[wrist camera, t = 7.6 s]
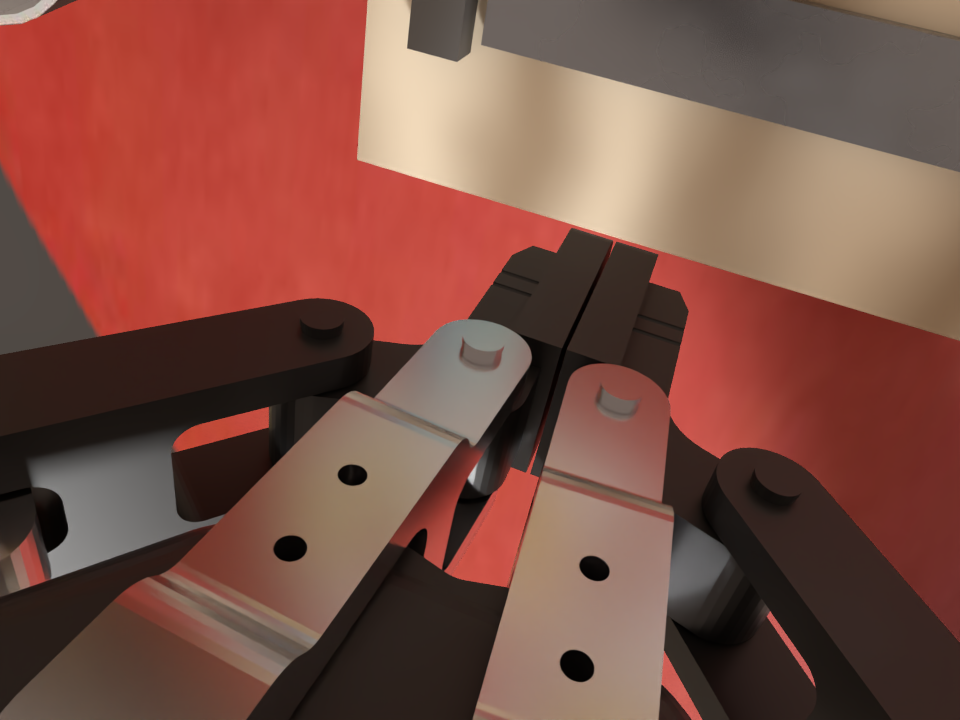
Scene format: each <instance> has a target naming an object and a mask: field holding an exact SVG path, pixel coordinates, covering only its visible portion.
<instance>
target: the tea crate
mask: <svg viewBox="0 0 960 720" xmlns="http://www.w3.org/2000/svg"><path fill="white" fill-rule="evenodd" d="M807 1H811V2H815V3H820V4H824V5H828V6H832V7H836V8H841V9H845V10H849V11H853V12H857V13H862V14H866V15H870V16H874V17H878V18H883V19H887V20H891V21H895V22H899V23H904V24H908V25H912V26H916V27H920V28H924V29H929V30H933V31H937V32H941V33H945V34H950V35H954V36H958V37H960V0H807ZM487 2H488V0H368V5H367V20H366V35H365V49H364V64H363V79H362V94H361V109H360V124H359V138H358V153H357V160H360V161H363V162H366V163H370V164H373V165H376V166H380V167H383V168H386V169H390V170H393V171H396V172H400V173H403V174H406V175H410V176H413V177H416V178H420V179H423V180H426V181H430V182H433V183H436V184H440V185H443V186H446V187H450V188H453V189H456V190H460V191H463V192H466V193H470V194H473V195H476V196H480V197H483V198H486V199H490V200H493V201H496V202H499V203H503V204H506V205H509V206H513V207H516V208H519V209H523V210H526V211H529V212H533V213H536V214H539V215H543V216H546V217H549V218H553V219H556V220H559V221H563V222H566V223H569V224H573V225H576V226H579V227H583V228H586V229H589V230H593V231H596V232H599V233H603V234H606V235H609V236H613V237H616V238H619V239H623V240H626V241H629V242H633V243H636V244H639V245H643V246H646V247H649V248H652V249H656V250H659V251H662V252H666V253H669V254H672V255H676V256H679V257H682V258H686V259H689V260H692V261H696V262H699V263H702V264H706V265H709V266H712V267H716V268H719V269H722V270H726V271H729V272H732V273H736V274H739V275H742V276H746V277H749V278H752V279H756V280H759V281H762V282H766V283H769V284H772V285H776V286H779V287H782V288H786V289H789V290H792V291H796V292H799V293H802V294H806V295H809V296H812V297H815V298H819V299H822V300H825V301H829V302H832V303H835V304H839V305H842V306H845V307H849V308H852V309H855V310H859V311H862V312H865V313H869V314H872V315H875V316H879V317H882V318H885V319H889V320H892V321H895V322H899V323H902V324H905V325H909V326H912V327H915V328H919V329H922V330H925V331H929V332H932V333H935V334H939V335H942V336H945V337H949V338H952V339H955V340H959V341H960V172H957V171H953V170H949V169H946V168H942V167H938V166H934V165H931V164H927V163H923V162H919V161H916V160H912V159H908V158H904V157H901V156H897V155H893V154H889V153H885V152H882V151H878V150H874V149H870V148H867V147H863V146H859V145H855V144H852V143H848V142H844V141H840V140H837V139H833V138H829V137H825V136H822V135H818V134H814V133H810V132H806V131H803V130H799V129H795V128H791V127H788V126H784V125H780V124H776V123H773V122H769V121H765V120H761V119H758V118H754V117H750V116H746V115H742V114H739V113H735V112H731V111H727V110H724V109H720V108H716V107H712V106H709V105H705V104H701V103H697V102H694V101H690V100H686V99H682V98H678V97H675V96H671V95H667V94H663V93H660V92H656V91H652V90H648V89H645V88H641V87H637V86H633V85H630V84H626V83H622V82H618V81H615V80H611V79H607V78H603V77H599V76H596V75H592V74H588V73H584V72H581V71H577V70H573V69H569V68H566V67H562V66H558V65H554V64H551V63H547V62H543V61H539V60H535V59H532V58H528V57H524V56H520V55H517V54H513V53H509V52H505V51H502V50H498V49H494V48H490V47H487V46H483V45H481V41H482V34H483V28H484V22H485V15H486V9H487Z"/></svg>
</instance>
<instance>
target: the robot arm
mask: <svg viewBox="0 0 960 720" xmlns="http://www.w3.org/2000/svg"><path fill="white" fill-rule="evenodd" d="M612 245H613V240H609V239H606V238H603V237H600V236H596V235H593V234H590V233H587V232H583V231H580V230H577V229H574V228H571V230H570V231H569V233H568V235H567V236H566V238H565V240H564V241H563V243H562V245H561V246H560V248H559V250H558V251H557V253H554V252H551V251H548V250H545V249H542V248H538V247H535V246H532V247H529V248H527V249H525V250H523V251H520V252H518V253H516V254H514V255H512V256H511V258H510V259H509V261H508V262H507V263H506V265H505V266H504V268H503V269H502V272H501V273H500V274H499V275H498V276H497V278H496V279H495V281H494V283H493V285H491V286H490V288H489V289H488V291H487V292H486V294H485V295H484V296H483V298H482V299H481V301H480V302H479V304H478V305H477V306H476V308H475V309H474V311H473V312H472V314H471V315H470V316H469V318H468V319H467V320H458V321H454V322H451V323H448V324H446V325H444V326H442V327H440V328H439V329H438V330H437V331H436V332H435V333H434V334H433V335H432V336H431V337H430V338H429V340H428V341H427V342H426V343H425V344H424V345H408V344H398V343H390V342H383V341H375V340H373V337H374V327H373V324H372V322H371V320H370V319H369V317H368V316H367V315H366V314H365V313H363V312H362V311H361V310H359V309H358V308H356V307H354V306H352V305H349V304H347V303H344V302H340V301H336V300H331V299H320V298H316V299H304V300H297V301H292V302H287V303H281V304H276V305H270V306H265V307H259V308H254V309H248V310H243V311H237V312H232V313H226V314H221V315H215V316H210V317H205V318H199V319H194V320H188V321H183V322H177V323H172V324H166V325H161V326H155V327H150V328H144V329H139V330H134V331H128V332H123V333H117V334H112V335H106V336H101V337H95V338H90V339H84V340H79V341H73V342H68V343H63V344H58V345H52V346H46V347H41V348H35V349H30V350H24V351H19V352H13V353H8V354H2V355H0V720H691V718H690V717H689V715H688V714H687V713H686V712H685V710H684V709H683V708H682V707H681V705H680V704H679V703H678V702H677V700H676V699H675V698H674V697H673V696H672V695H671V694H670V693H669V692H668V690H667V689H666V688H665V687H664V686H663V685H662V684H661V681H662V668H663V654H664V651H665V653H666V655H667V656H668V658H669V660H670V662H671V664H672V665H673V667H674V669H675V671H676V673H677V674H678V676H679V678H680V680H681V682H682V683H683V685H684V687H685V689H686V691H687V692H688V694H689V696H690V698H691V700H692V701H693V703H694V705H695V707H696V709H697V710H698V712H699V714H700V716H701V718H702V719H703V720H960V643H959V642H958V640H957V639H956V638H955V637H954V636H953V635H952V634H951V632H950V631H949V630H948V629H947V628H946V627H945V626H944V624H943V623H942V622H941V621H940V620H939V619H938V617H937V616H936V615H935V614H934V613H933V612H932V611H931V609H930V608H929V607H928V606H927V605H926V604H925V603H924V601H923V600H922V599H921V598H920V597H919V596H918V595H917V593H916V592H915V591H914V590H913V589H912V588H911V587H910V585H909V584H908V583H907V582H906V581H905V580H904V579H903V577H902V576H901V575H900V574H899V573H898V572H897V571H896V569H895V568H894V567H893V566H892V565H891V564H890V563H889V561H888V560H887V559H886V558H885V557H884V556H883V555H882V553H881V552H880V551H879V550H878V549H877V548H876V547H875V545H874V544H873V543H872V542H871V541H870V540H869V539H868V537H867V536H866V535H865V534H864V533H863V532H862V531H861V529H860V528H859V527H858V526H857V525H856V524H855V523H854V521H853V520H852V519H851V518H850V517H849V516H848V515H847V513H846V512H845V511H844V510H843V509H842V508H841V507H840V505H839V504H838V503H837V502H836V501H835V500H834V498H833V497H832V496H831V495H830V494H829V493H828V492H827V490H826V489H825V488H824V487H823V486H822V485H821V484H820V482H819V481H818V480H817V479H816V478H815V477H814V476H813V475H812V474H811V473H809V472H808V471H807V470H806V469H805V468H803V467H802V466H800V465H799V464H797V463H796V462H794V461H792V460H790V459H788V458H787V457H784V456H782V455H780V454H777V453H774V452H771V451H768V450H763V449H758V448H739V449H735V450H732V451H730V452H727V453H726V454H725V455H723V456H722V457H721V459H719V458H717V457H715V456H714V455H712V454H710V453H709V452H707V451H705V450H704V449H702V448H701V447H699V446H698V445H696V444H695V443H693V442H692V441H691V440H690V439H688V438H687V437H686V436H685V435H684V434H683V433H682V432H681V431H680V430H679V429H678V427H677V426H676V425H675V423H674V422H673V420H672V418H671V416H670V403H669V400H668V396H669V392H670V388H671V384H672V379H673V375H674V371H675V367H676V362H677V358H678V354H679V350H680V345H681V341H682V337H683V333H684V329H685V325H686V320H687V316H688V312H689V311H688V309H687V307H686V305H685V302H684V300H683V298H682V296H681V294H680V292H678V291H675V290H671V289H668V288H665V287H662V286H659V285H656V284H653V283H649V280H650V277H651V274H652V271H653V269H654V266H655V263H656V260H657V257H658V254H655V253H652V252H648V251H645V250H642V249H639V248H636V247H632V246H629V245H626V244H623V243H619V242H616V244H615V246H614V248H613V250H612V252H611V249H612ZM610 252H611V254H610ZM609 256H610V257H609ZM265 407H269V428H265V429H262V430H258V431H254V432H250V433H247V434H243V435H239V436H235V437H232V438H228V439H224V440H220V441H217V442H213V443H209V444H205V445H202V446H198V447H194V448H190V449H187V450H183V451H179V452H175V453H171V449H172V446H173V444H174V442H175V440H176V439H177V438H178V437H179V436H180V435H181V434H182V433H183V432H184V431H186V430H187V429H189V428H191V427H193V426H195V425H199V424H202V423H206V422H210V421H214V420H218V419H222V418H226V417H230V416H234V415H238V414H242V413H246V412H250V411H254V410H258V409H261V408H265ZM539 442H540V443H539ZM538 444H539V446H538ZM537 446H538V450H537V453H536V456H535V460H534V463H533V467H532V470H531V473H530V474H532V475H535V476H537V477H539V480H538V483H537V487H536V490H535V493H534V496H533V499H532V503H531V506H530V509H529V513H528V516H527V519H526V523H525V526H524V530H523V533H522V537H521V540H520V543H519V547H518V550H517V554H516V557H515V561H514V564H513V568H512V571H511V574H510V578H509V581H508V585H507V587H501V586H495V585H489V584H483V583H477V582H471V581H465V580H461V579H457V578H455V577H452V574H453V572H454V571H455V569H456V567H457V566H458V564H459V562H460V561H461V559H462V557H463V556H464V554H465V552H466V550H467V549H468V547H469V545H470V544H471V542H472V540H473V539H474V537H475V535H476V534H477V532H478V530H479V528H480V527H481V525H482V523H483V522H484V520H485V518H486V517H487V515H488V513H489V512H490V510H491V508H492V506H493V504H494V502H495V498H496V495H497V491H498V488H499V487H500V486H501V485H502V484H503V482H504V480H505V478H506V476H507V474H508V472H509V470H510V467H512V468H515V469H518V470H520V471H523V472H526V471H527V469H528V467H529V465H530V462H531V460H532V458H533V455H534V453H535V451H536V449H537ZM770 611H771V613H772V614H773V616H774V617H775V619H776V620H777V621H778V623H779V624H780V626H781V627H782V629H783V630H784V631H785V633H786V634H787V636H788V637H789V639H790V640H791V642H792V643H793V644H794V646H795V647H796V649H797V650H798V652H799V653H800V654H801V656H802V657H803V659H804V660H805V662H806V663H807V665H808V667H809V669H810V671H811V673H812V676H813V678H814V682H815V686H816V688H815V686H814V685H813V683H812V682H811V681H810V679H809V678H808V676H807V675H806V673H805V672H804V670H803V669H802V667H801V666H800V665H799V663H798V662H797V660H796V659H795V657H794V656H793V654H792V653H791V651H790V650H789V649H788V647H787V646H786V644H785V643H784V641H783V640H782V638H781V637H780V635H779V634H778V633H777V631H776V630H775V628H774V627H773V625H772V624H771V622H770V621H769V619H768V618H767V615H768V613H769V612H770Z"/></svg>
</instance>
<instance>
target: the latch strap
mask: <svg viewBox="0 0 960 720" xmlns="http://www.w3.org/2000/svg"><path fill="white" fill-rule="evenodd" d="M481 45H483V46H487V47H490V48H494V49H498V50H502V51H505V52H509V53H513V54H517V55H520V56H524V57H528V58H532V59H535V60H539V61H543V62H547V63H551V64H554V65H558V66H562V67H566V68H569V69H573V70H577V71H581V72H584V73H588V74H592V75H596V76H599V77H603V78H607V79H611V80H615V81H618V82H622V83H626V84H630V85H633V86H637V87H641V88H645V89H648V90H652V91H656V92H660V93H663V94H667V95H671V96H675V97H678V98H682V99H686V100H690V101H694V102H697V103H701V104H705V105H709V106H712V107H716V108H720V109H724V110H727V111H731V112H735V113H739V114H742V115H746V116H750V117H754V118H758V119H761V120H765V121H769V122H773V123H776V124H780V125H784V126H788V127H791V128H795V129H799V130H803V131H806V132H810V133H814V134H818V135H822V136H825V137H829V138H833V139H837V140H840V141H844V142H848V143H852V144H855V145H859V146H863V147H867V148H870V149H874V150H878V151H882V152H885V153H889V154H893V155H897V156H901V157H904V158H908V159H912V160H916V161H919V162H923V163H927V164H931V165H934V166H938V167H942V168H946V169H949V170H953V171H957V172H960V37H958V36H954V35H950V34H945V33H941V32H937V31H933V30H929V29H924V28H920V27H916V26H912V25H908V24H904V23H899V22H895V21H891V20H887V19H883V18H878V17H874V16H870V15H866V14H862V13H857V12H853V11H849V10H845V9H841V8H836V7H832V6H828V5H824V4H820V3H815V2H811V1H807V0H488V2H487V9H486V15H485V22H484V28H483V34H482V41H481Z"/></svg>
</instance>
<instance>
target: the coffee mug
mask: <svg viewBox="0 0 960 720" xmlns="http://www.w3.org/2000/svg"><path fill="white" fill-rule="evenodd" d="M74 1H76V0H0V25H13V24H22V23H25V22H27V21H30V20H32V19H35V18H37V17H39V16H42V15H44V14H46V13H49V12H51V11H53V10H55V9H58V8H60V7H62V6H65V5H67V4H69V3H71V2H74Z"/></svg>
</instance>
